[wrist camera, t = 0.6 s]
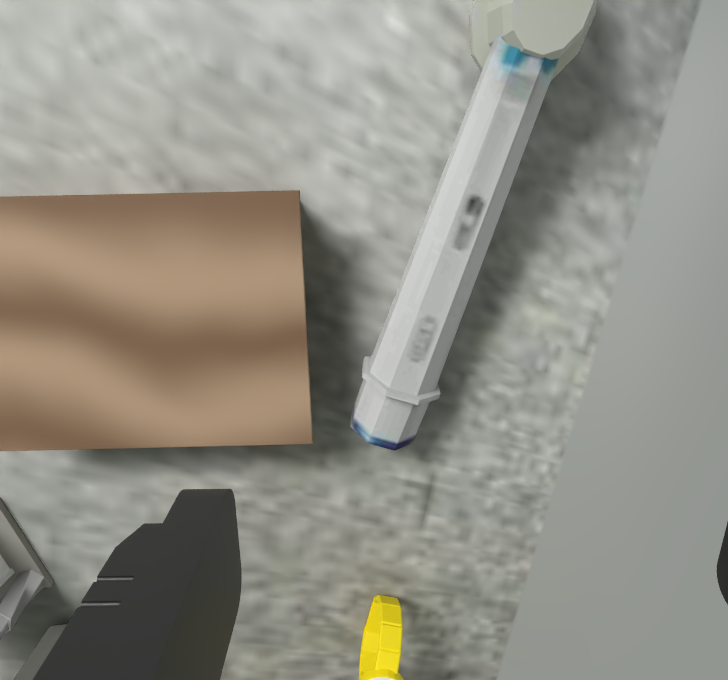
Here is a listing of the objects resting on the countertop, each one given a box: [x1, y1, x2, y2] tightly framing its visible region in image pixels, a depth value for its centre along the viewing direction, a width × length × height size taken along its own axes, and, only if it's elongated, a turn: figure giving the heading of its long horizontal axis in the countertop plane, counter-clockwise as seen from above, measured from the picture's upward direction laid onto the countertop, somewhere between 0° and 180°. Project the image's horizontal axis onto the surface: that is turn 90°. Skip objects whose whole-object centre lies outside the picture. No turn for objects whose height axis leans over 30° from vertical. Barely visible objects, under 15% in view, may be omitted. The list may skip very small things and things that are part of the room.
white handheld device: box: [350, 0, 597, 450], centre depth 27 cm, size 5×7×25 cm
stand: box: [0, 190, 313, 451], centre depth 28 cm, size 13×17×4 cm
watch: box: [359, 595, 404, 680], centre depth 34 cm, size 6×3×6 cm, turn 166°
